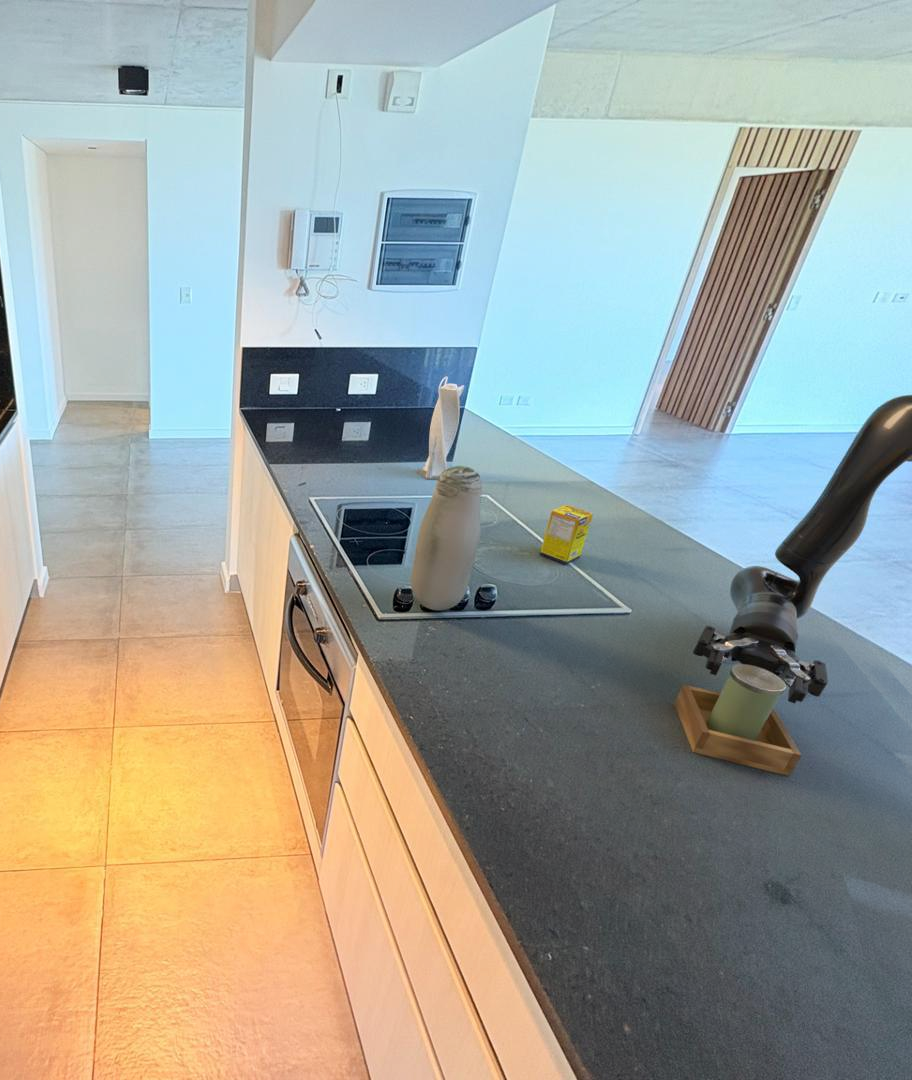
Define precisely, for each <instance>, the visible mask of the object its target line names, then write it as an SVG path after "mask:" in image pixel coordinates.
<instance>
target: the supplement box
mask: <svg viewBox="0 0 912 1080" xmlns="http://www.w3.org/2000/svg"><path fill="white" fill-rule="evenodd" d="M550 513H551V514H550V516H549V520H548V523H547V526H546V529H545V534H544V538H543V541H542V545H541V549H540V552H539V556H542V557H545V558H548V559H549V560H552V561H555V562H558V563H560V564H563V565H565V566H566V565H568V564H570V563H572V562H574V561H576V560H578V559H580V557H581V554H582V552H583V547H584V545H585V542H586V539H587V535H588V532H589V529H590V526H591V523H592V519H593V515H594V513H593V512H590V511H587V510H583V509H580V508H577V507H574V506H571V505H568V504H564V505H562V506H559V507H557V508H555V509H552V510H551V512H550Z"/></svg>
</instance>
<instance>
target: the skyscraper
mask: <svg viewBox="0 0 912 1080" xmlns="http://www.w3.org/2000/svg"><path fill="white" fill-rule="evenodd" d="M448 379H449V377H448V375H447V376H444V377H442V380H440V383H439V384H438V389H437V390H438V399H437V401H436V403H435V406H434V409H433V413H432V416H431V421H430V427H429V438H428V457H427V459H426V461H425V464H424V466H423V468H422V469H416V472H417V473H418V474H419V475H420V476H422V477H423V478H424V479H426V481H429V480H438V478H439V476H440V475H441V473H442V472H443V471H445V470H446V469H448V464H447V457H448V455H449V453H450V451H451V449H452V446H453V444H454V441H455V438H456V436H457V432H458V429H459V423H460V414H461V413H460V411H461V409H460V407H461V406H460V405H461V402H460V397H461V396H462V393H463V391H464V390H465V385H464V384H462V385H460V386H458V384H456V383H448ZM443 382H444V385H443ZM442 385H443V386H442Z"/></svg>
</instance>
